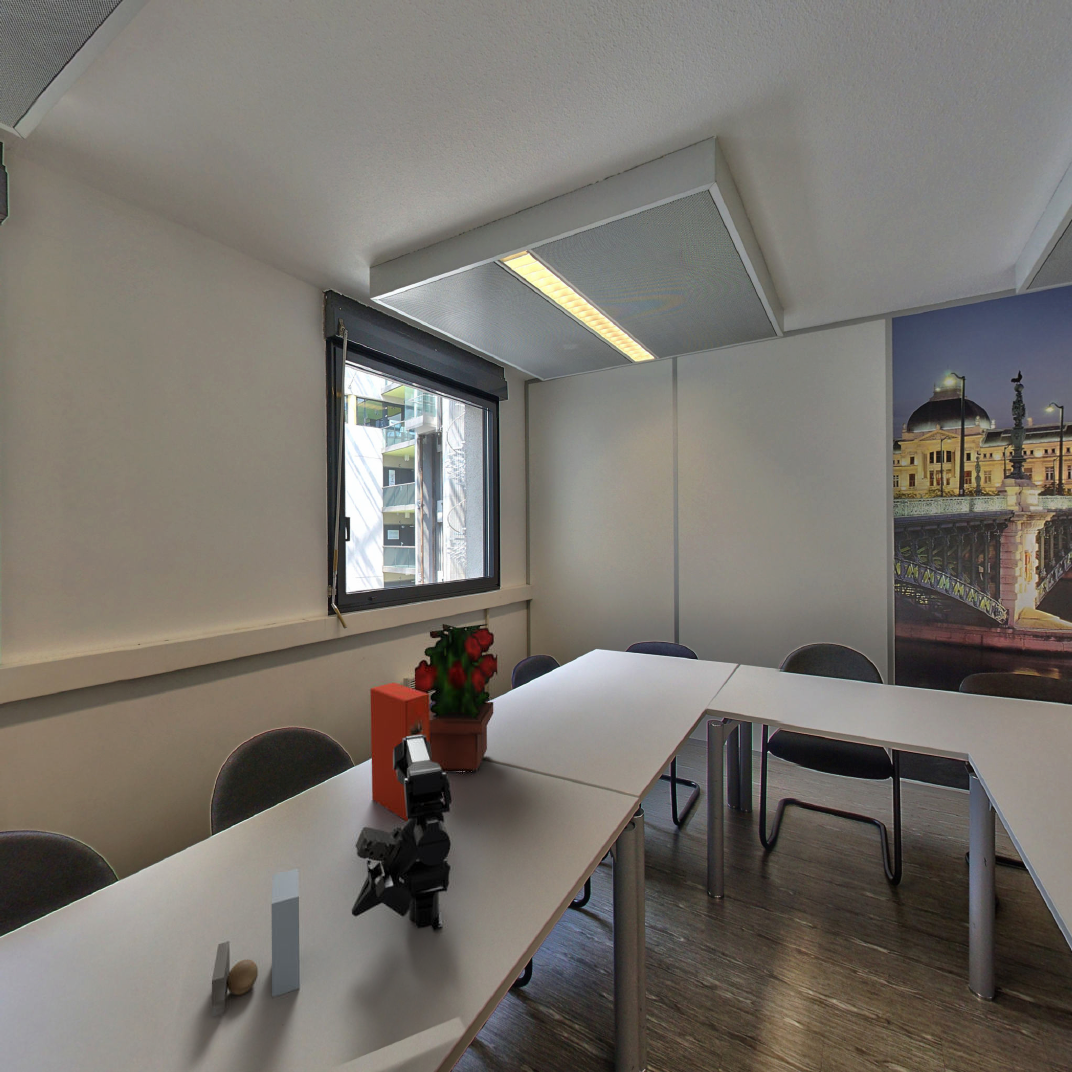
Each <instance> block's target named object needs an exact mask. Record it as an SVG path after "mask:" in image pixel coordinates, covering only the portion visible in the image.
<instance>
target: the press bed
mask: <svg viewBox="0 0 1072 1072" xmlns="http://www.w3.org/2000/svg"><path fill="white" fill-rule="evenodd" d="M230 957H231V956H230V940H229V941H225V942H224V941H223V942H221V943H219V944H218V945H217V950H216V957H215V962H214V967H213V972H212V980H211V1018H212V1019H215V1018H217V1017H221V1016H223V1015H225V1013H226V1005H227V996H228V991H229V989H228V987H227V978H228V975H229V973H230V971H231V969H230V966H231V965H230V961H231V960H230Z"/></svg>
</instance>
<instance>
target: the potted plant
mask: <svg viewBox="0 0 1072 1072" xmlns="http://www.w3.org/2000/svg"><path fill="white" fill-rule="evenodd" d="M487 625H488V623H485V624H484V623H482V624H477V625H469V626H462V627H457V626H453V625H448V624H446V623H445V624H444V623H442V629H439V630H438V629H437V630H431V631H429V637H430V638H431V639H438V638H439V639H438V640H437V641H436V642H435V645H434V646H428V647H426V649H424V653H423V654H424V655H425V657H429V663H428V661H427V660H426V659H421V660H420V661H419V663H418V666H416V667H414V689H415V690H418V691H421V692H424V693H427V694H429V692H431V691H434V692H433V693H431V694H430V696H429V700H431V702H435V703H433V704H432V705H431V706H430V708H429V728H430V746H431V755H432V759H431V762H435V763H438V764H439V765H440V767H441V769H442V771H462V772H461V773H470V772H471V771H472V772H473V773H474V771H475V770H478V769H479V767H480V766H481V763H482V760H483V758H484V756H485V754H486V753H487V750H488V724H489V722H490V720H491V718H492V717H493V715H494V701H488V699H489V698H490V693H489V691H486V685H487V684H488V683H489V682H490V679H491V678H493V677H494V674H495V675H498V654H495V656H494V654H493V653H487V652H488V651H489V650H490V647H491V646H493V645H494V641H495V636H494V633H493V632H490V629H489V628H488V627H485V626H487ZM481 627H482V628H481ZM445 632H446V633H445ZM483 653H486V654H483ZM473 770H474V771H473ZM463 771H465V772H463Z"/></svg>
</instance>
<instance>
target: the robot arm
mask: <svg viewBox="0 0 1072 1072" xmlns="http://www.w3.org/2000/svg"><path fill="white" fill-rule="evenodd" d="M431 759H432V755H431V746H430V742H428V741H427V740H426V736H425V735H422V734H419V735H411V736H406V737H405V738H403V740H402V742H401V743H400V744H398V745H397V746H396V747H394V750H393V770H396V773H397V780H398V781H399V782H400V783H401V784H402V785H403V786H404V794H405V804H406V814H407V819H408V821H406V822H405V824H404V825H403V826H402V828H401V827H400V826H397V827H395V828H393V830H392V831H391V832H387V831H384V830H381V829H377V828H372V827H368V826H364V827H362V830H361V832H360V833H359V836H358V839H357V841H356V843H355V848H356V854H357V857H359V859H360V858H361V859H362V860H363V859H364V860H365V859H367V860H366V870H367V871H366V872H367V875H366V878H365V880H364V883H363V885H362V887H361V890H360V892H359V894H358V896H357V898H356V900H355V903H354V904H353V907H352V908H351V915H352V916H354V917H358V916H360V915H362V914H364V913H365V912H367V911H369V910H372V909H373V908H375V907H377V906H379V905H381V904H383V905H385V906H386V907H387V908H389V909H390V910H392V911H394V912H395V913H397V914H398V915H399V916H401V917H402V918H404V917H405V916H406V915H407V914H408V918H409V920H410V921H411V922H412V923H414V924H415V927H417V929H422V928H427V927H431V929H432V931H435V930H440V929H442V928H443V921H442V920H443V919H442V913H441V910H442V909H441V905H440V899H439V898H440V893H441V892H442V893H443V892H447V891H448V887H449V884H450V872H451V865H450V864H449V862H448V859H447V858H448V855H449V853H450V850H451V847H452V846H451V845H452V843H451V838H450V836H449V833H448V831H447V828H446V825H445V824H444V823H445V816H444V814H445V813H449V812H451V806H450V804H452V801H453V800H452V793H451V787H450V780H449V777H448V776H447V773H446V772H442V769H441V767H440V765H439V764H438V763H435V762H431ZM442 799H443V801H442Z"/></svg>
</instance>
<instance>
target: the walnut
mask: <svg viewBox="0 0 1072 1072" xmlns="http://www.w3.org/2000/svg"><path fill="white" fill-rule="evenodd" d="M258 975H259V970H258V966H257V964H256V962H255V961H254V960H252V959H243V960H240V961H238V962H237V963H236V964H234V965H233V966H232V968H231V969H230V973H229V975H228V978H227V987H228V991H229V992H230V993H231V994H233V995H235V996H236V995H238V996H239V995H243V994H245V993H247V992H249V990H251V989H252V987H253V986H254V985H255V983H256V981H257V979H258Z"/></svg>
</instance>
